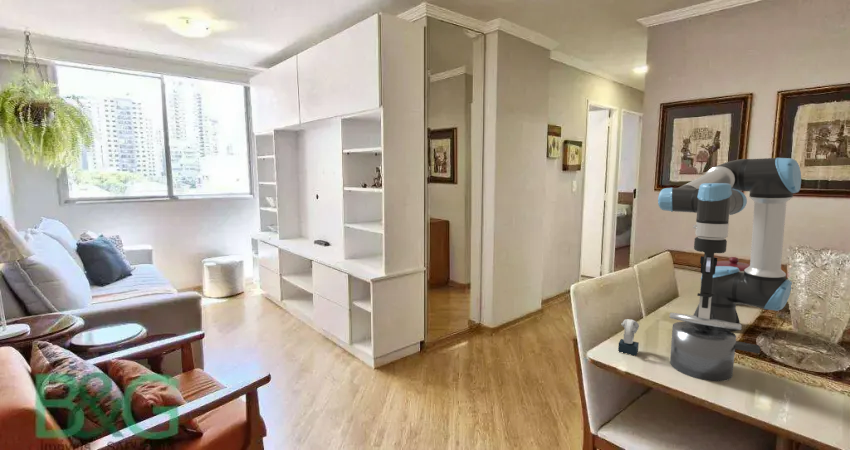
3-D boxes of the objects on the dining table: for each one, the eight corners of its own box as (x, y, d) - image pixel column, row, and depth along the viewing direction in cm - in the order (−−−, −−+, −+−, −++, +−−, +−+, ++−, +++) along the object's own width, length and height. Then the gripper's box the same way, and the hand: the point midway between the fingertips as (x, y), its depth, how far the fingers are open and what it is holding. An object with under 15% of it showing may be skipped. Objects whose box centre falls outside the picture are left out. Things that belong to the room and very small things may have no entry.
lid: (671, 316, 136) (672, 307, 136) (739, 328, 126) (739, 318, 126) (667, 318, 121) (668, 308, 122) (743, 331, 111) (744, 320, 111)
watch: (638, 349, 139) (640, 318, 137) (635, 358, 132) (637, 325, 131) (621, 345, 142) (622, 315, 141) (616, 353, 135) (618, 322, 134)
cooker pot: (672, 350, 137) (675, 316, 136) (754, 368, 125) (757, 330, 123) (667, 371, 123) (670, 333, 122) (758, 393, 111) (762, 351, 109)
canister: (723, 293, 200) (726, 252, 198) (764, 304, 184) (769, 259, 181) (697, 298, 194) (700, 254, 191) (737, 309, 177) (742, 262, 175)
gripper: (695, 233, 122) (689, 309, 125) (693, 239, 112) (687, 321, 115) (726, 235, 118) (719, 313, 121) (727, 242, 107) (719, 327, 110)
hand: (703, 317), depth 118 cm, fingers closed
